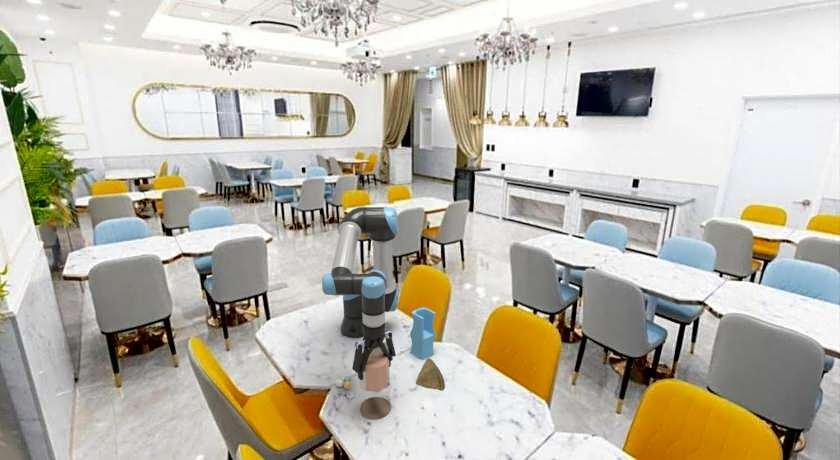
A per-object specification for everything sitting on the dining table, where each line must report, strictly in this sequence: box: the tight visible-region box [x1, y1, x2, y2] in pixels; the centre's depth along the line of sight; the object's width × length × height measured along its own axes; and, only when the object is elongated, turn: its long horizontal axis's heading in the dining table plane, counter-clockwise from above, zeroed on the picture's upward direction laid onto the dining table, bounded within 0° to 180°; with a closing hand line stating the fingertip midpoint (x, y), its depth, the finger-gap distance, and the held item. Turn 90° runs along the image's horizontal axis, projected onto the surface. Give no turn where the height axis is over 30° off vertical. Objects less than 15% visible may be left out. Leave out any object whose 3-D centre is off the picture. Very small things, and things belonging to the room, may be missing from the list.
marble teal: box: [343, 374, 352, 383], centre depth 155 cm, size 3×3×3 cm
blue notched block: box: [409, 307, 437, 361], centre depth 174 cm, size 8×8×20 cm
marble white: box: [335, 378, 345, 388], centre depth 153 cm, size 3×3×3 cm
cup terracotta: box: [364, 352, 390, 393], centre depth 138 cm, size 9×9×9 cm
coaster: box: [359, 396, 392, 420], centre depth 142 cm, size 11×11×1 cm
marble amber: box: [343, 381, 352, 390], centre depth 152 cm, size 3×3×3 cm
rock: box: [415, 357, 446, 390], centre depth 154 cm, size 11×9×10 cm
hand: (374, 380), depth 139 cm, fingers closed on cup terracotta, 9 cm apart
